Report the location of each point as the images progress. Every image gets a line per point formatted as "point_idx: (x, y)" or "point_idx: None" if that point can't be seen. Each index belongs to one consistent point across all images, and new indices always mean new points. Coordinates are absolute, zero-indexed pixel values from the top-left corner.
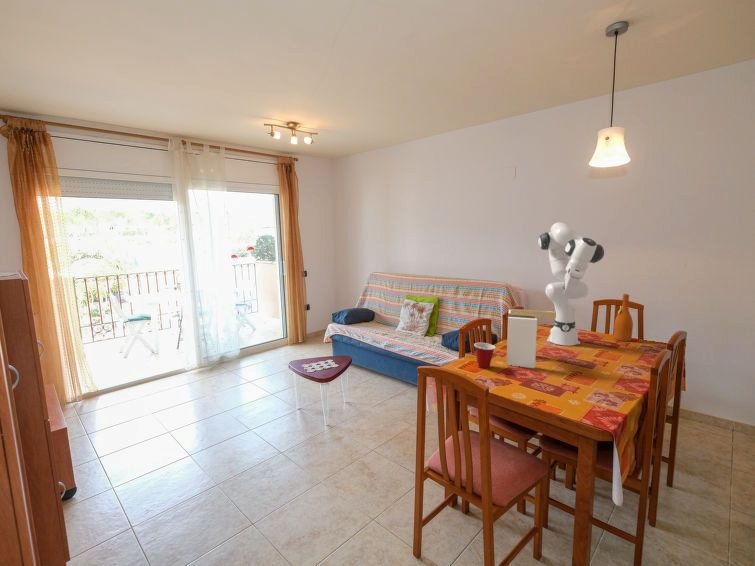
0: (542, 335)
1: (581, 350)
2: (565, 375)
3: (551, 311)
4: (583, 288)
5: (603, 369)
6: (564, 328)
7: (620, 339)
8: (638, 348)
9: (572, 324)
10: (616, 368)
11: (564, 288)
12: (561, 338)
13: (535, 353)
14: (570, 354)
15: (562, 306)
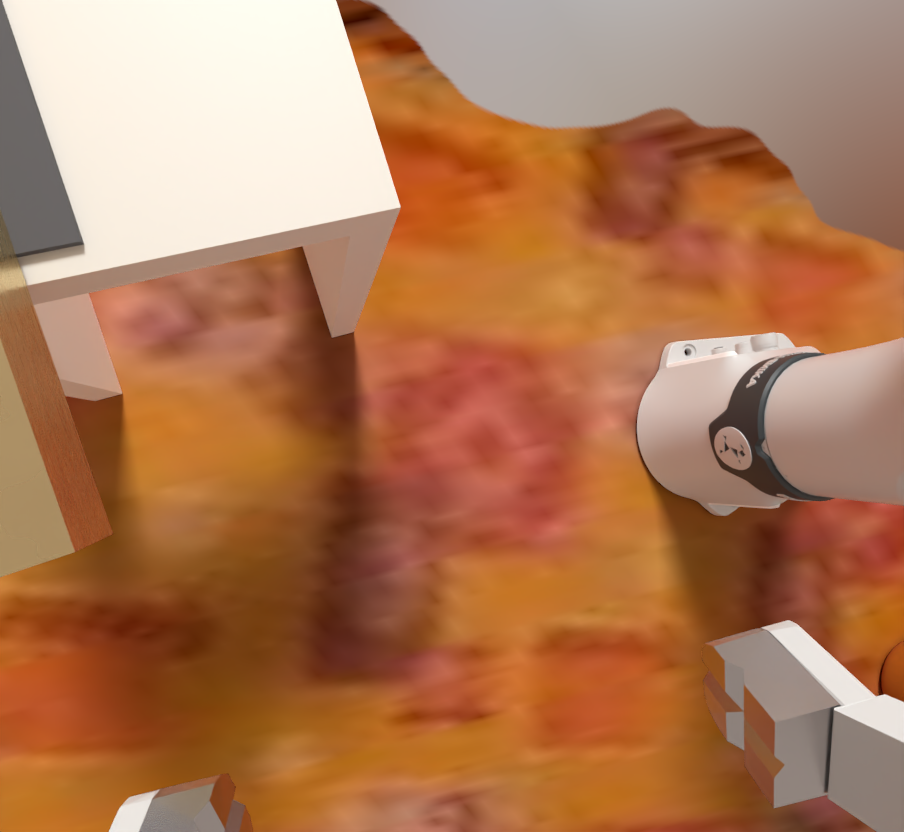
0: (757, 295)
1: (609, 548)
2: (79, 590)
3: (27, 493)
4: None
5: (340, 734)
6: (725, 441)
7: (886, 680)
8: None
9: (779, 490)
10: (402, 785)
11: (733, 695)
12: (670, 427)
13: None
14: (501, 515)
15: (900, 412)
